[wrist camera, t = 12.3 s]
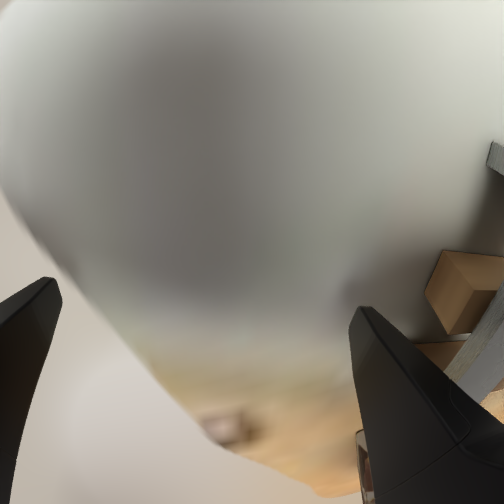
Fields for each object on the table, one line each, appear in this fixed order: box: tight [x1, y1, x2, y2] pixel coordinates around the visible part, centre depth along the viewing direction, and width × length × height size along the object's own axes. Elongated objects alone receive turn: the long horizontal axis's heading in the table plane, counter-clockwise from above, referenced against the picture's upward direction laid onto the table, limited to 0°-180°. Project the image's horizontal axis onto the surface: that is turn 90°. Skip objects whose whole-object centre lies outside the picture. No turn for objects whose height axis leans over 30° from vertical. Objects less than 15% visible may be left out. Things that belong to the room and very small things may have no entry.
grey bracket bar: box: [444, 142, 504, 404], centre depth 9 cm, size 3×12×3 cm, turn 174°
